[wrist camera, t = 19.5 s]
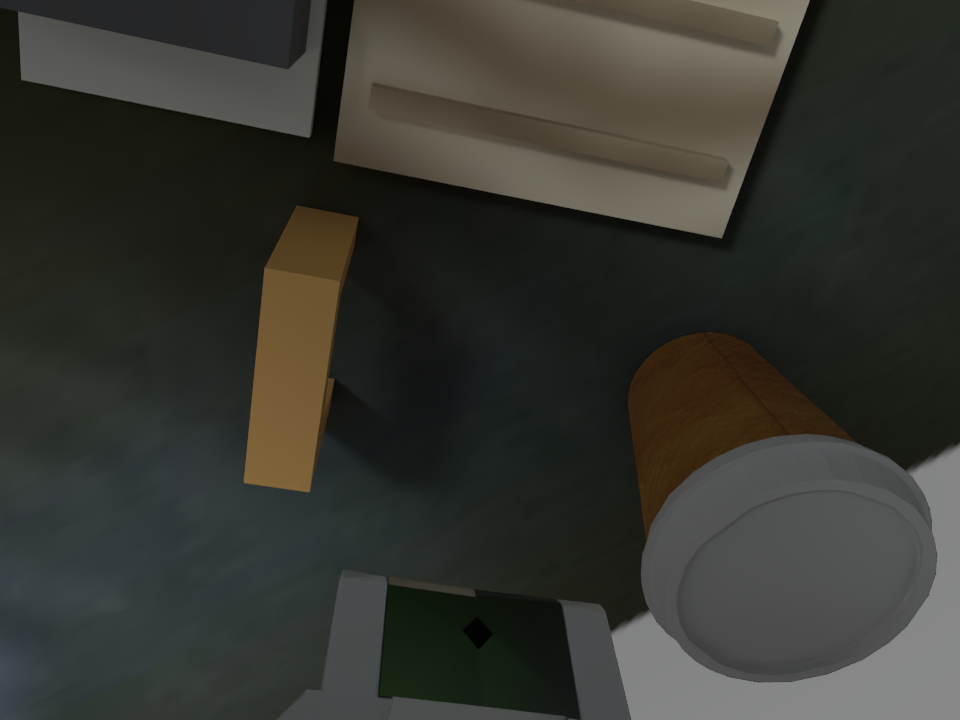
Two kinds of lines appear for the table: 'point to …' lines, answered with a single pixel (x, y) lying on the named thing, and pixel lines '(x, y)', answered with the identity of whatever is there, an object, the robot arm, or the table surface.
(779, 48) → the board
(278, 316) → the wooden arch block
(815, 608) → the disposable coffee cup
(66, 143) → the table surface
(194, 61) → the mat
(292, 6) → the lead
